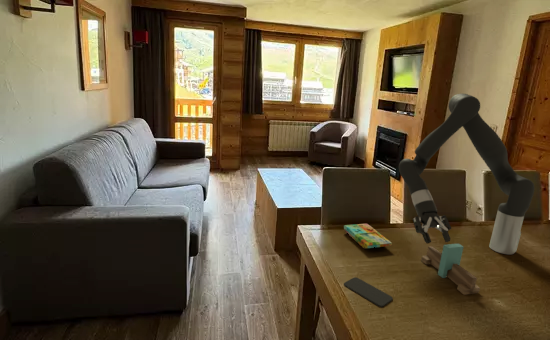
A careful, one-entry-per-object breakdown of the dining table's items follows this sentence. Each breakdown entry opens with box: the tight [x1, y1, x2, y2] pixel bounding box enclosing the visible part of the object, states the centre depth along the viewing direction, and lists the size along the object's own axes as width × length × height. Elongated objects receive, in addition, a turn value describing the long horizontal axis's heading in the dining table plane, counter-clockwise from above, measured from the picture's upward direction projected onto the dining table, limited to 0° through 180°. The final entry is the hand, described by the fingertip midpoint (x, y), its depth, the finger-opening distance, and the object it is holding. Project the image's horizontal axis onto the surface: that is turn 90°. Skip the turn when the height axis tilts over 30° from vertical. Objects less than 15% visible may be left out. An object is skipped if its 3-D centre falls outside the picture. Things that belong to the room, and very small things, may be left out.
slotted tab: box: [437, 243, 464, 279], centre depth 119 cm, size 6×2×12 cm, turn 104°
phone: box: [343, 277, 394, 308], centre depth 108 cm, size 7×1×15 cm
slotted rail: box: [420, 245, 481, 296], centre depth 119 cm, size 6×22×6 cm, turn 14°
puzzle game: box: [343, 223, 393, 249], centre depth 143 cm, size 12×5×20 cm
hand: (438, 242), depth 124 cm, fingers open, 8 cm apart
